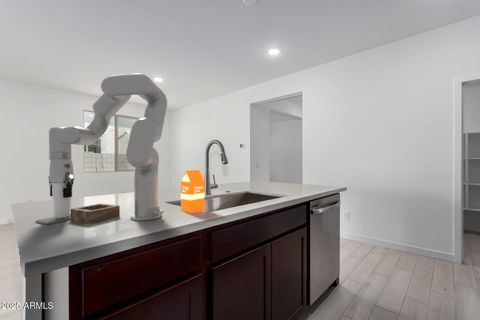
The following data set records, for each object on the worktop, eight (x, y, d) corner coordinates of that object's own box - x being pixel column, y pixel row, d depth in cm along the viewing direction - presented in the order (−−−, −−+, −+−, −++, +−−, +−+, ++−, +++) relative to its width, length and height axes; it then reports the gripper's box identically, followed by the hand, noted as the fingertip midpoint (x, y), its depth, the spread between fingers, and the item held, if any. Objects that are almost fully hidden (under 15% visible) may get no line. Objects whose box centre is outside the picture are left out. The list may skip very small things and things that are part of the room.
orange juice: (180, 210, 115) (180, 170, 115) (195, 207, 121) (194, 169, 121) (190, 212, 110) (190, 170, 109) (204, 209, 116) (204, 170, 116)
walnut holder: (119, 216, 103) (119, 205, 103) (89, 224, 91) (89, 211, 91) (101, 214, 108) (100, 203, 108) (70, 220, 97) (70, 208, 97)
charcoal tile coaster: (84, 216, 103) (84, 215, 103) (47, 225, 91) (47, 223, 91) (72, 214, 107) (72, 213, 107) (35, 222, 94) (35, 220, 94)
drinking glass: (61, 219, 95) (61, 183, 95) (47, 218, 96) (47, 183, 97) (75, 215, 102) (75, 181, 102) (63, 215, 103) (63, 181, 103)
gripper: (82, 156, 98) (82, 196, 98) (59, 156, 106) (59, 194, 106) (62, 156, 92) (62, 199, 92) (39, 156, 99) (39, 196, 99)
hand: (61, 196), depth 99 cm, fingers open, 9 cm apart
